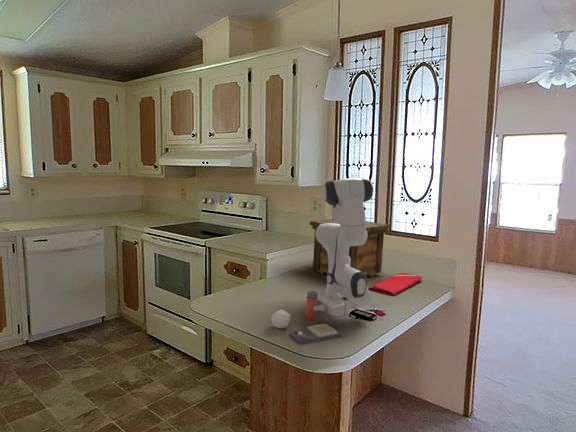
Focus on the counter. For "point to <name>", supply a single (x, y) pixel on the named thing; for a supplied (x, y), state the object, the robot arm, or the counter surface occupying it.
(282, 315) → the white swirled ball
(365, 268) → the crate
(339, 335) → the control panel
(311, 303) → the red cylinder with cap
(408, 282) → the red flat block
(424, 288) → the counter surface
